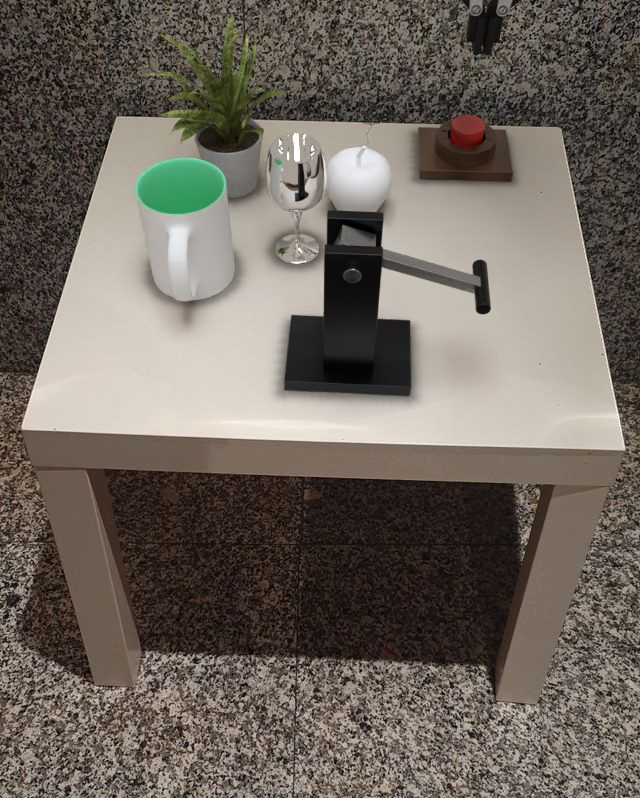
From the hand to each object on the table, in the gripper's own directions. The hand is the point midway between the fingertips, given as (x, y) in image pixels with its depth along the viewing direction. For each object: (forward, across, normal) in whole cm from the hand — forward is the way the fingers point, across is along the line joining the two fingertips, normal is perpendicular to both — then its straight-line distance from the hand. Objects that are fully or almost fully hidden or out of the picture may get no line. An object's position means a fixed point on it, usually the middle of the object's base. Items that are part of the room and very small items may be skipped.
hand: (480, 47), depth 84 cm
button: (+10, 0, 0) cm, 10 cm away
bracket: (+13, -12, -30) cm, 35 cm away
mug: (+13, -28, -22) cm, 37 cm away
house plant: (+13, -26, -4) cm, 30 cm away
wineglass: (+13, -18, -16) cm, 27 cm away
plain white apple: (+13, -12, -9) cm, 20 cm away
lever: (+3, -8, -30) cm, 32 cm away
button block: (+13, 0, 0) cm, 13 cm away
